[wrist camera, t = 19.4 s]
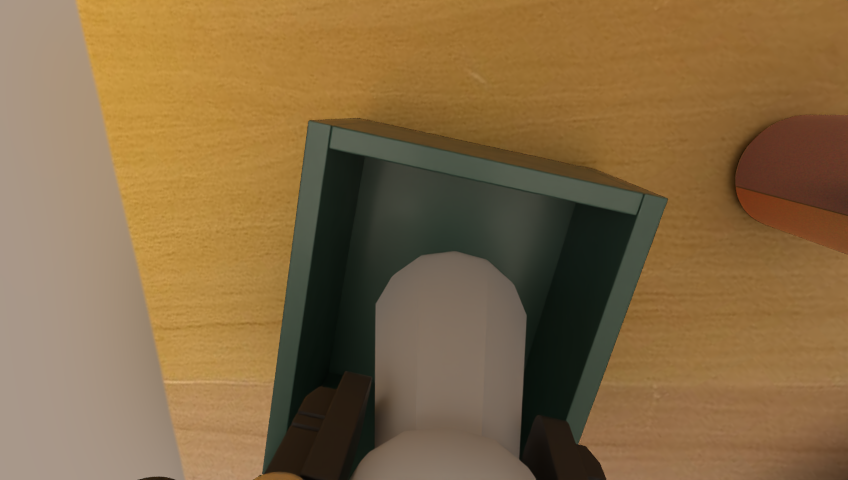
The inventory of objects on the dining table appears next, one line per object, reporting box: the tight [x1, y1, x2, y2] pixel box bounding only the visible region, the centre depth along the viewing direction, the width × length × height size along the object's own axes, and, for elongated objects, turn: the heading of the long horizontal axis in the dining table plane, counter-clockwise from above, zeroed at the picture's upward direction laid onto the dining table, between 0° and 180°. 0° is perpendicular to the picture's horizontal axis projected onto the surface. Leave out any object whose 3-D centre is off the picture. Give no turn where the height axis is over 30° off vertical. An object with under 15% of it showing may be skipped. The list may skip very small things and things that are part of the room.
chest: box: [262, 118, 668, 480], centre depth 24 cm, size 17×14×9 cm
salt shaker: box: [349, 251, 536, 480], centre depth 13 cm, size 6×6×13 cm
